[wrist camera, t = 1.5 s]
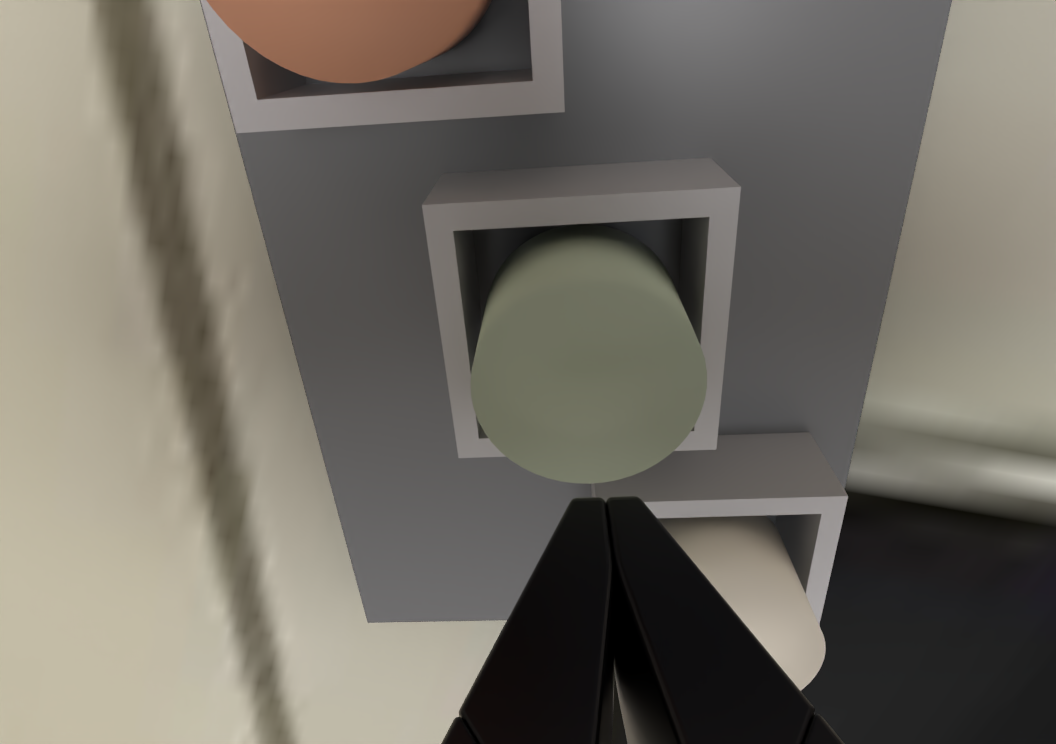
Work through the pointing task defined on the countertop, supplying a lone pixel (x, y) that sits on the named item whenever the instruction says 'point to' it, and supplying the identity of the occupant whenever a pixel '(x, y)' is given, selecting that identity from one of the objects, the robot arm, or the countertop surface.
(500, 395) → the sage button
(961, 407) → the countertop surface
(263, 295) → the countertop surface
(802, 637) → the cream button
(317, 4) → the terracotta button
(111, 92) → the countertop surface
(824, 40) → the panel
